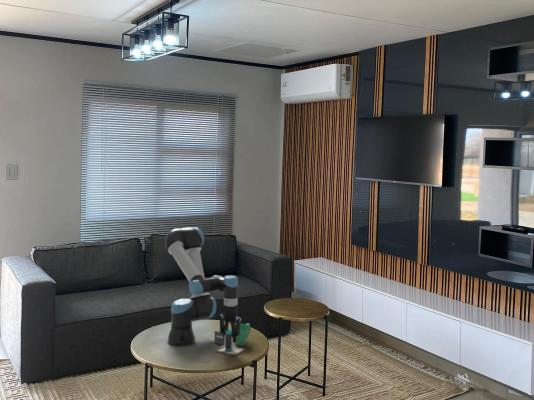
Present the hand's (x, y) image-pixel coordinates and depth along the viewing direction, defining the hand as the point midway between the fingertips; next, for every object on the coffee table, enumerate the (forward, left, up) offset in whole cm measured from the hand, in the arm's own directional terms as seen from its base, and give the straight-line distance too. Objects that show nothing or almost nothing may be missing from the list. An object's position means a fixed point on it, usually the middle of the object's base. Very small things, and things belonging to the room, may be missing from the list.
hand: (229, 346), depth 308 cm
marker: (0, -1, -2) cm, 2 cm away
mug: (-1, +16, -3) cm, 16 cm away
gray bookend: (-11, +9, -2) cm, 14 cm away
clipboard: (0, +1, -2) cm, 3 cm away
